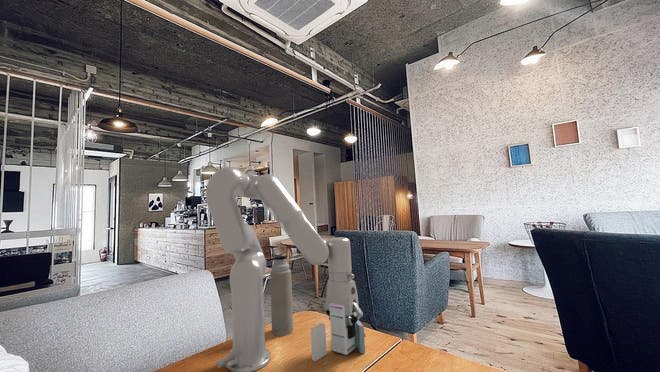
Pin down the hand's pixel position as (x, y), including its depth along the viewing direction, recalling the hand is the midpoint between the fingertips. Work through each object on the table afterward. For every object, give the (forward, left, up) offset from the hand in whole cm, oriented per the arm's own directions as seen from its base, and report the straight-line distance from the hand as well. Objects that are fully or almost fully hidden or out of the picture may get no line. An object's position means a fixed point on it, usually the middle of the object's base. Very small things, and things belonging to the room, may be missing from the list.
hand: (343, 334), depth 87 cm
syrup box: (0, 0, -5) cm, 5 cm away
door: (+6, -1, -5) cm, 8 cm away
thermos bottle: (-1, +28, -5) cm, 29 cm away
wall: (+2, +4, -5) cm, 7 cm away
